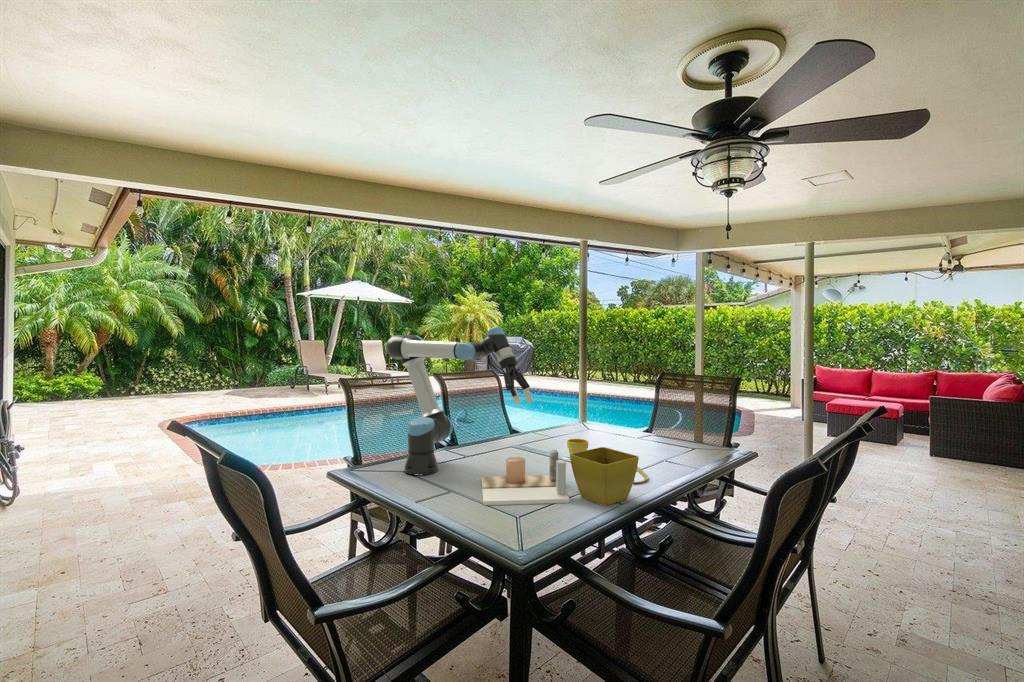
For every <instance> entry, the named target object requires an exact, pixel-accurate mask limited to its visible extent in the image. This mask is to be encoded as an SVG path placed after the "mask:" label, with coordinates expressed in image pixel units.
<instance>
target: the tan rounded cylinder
mask: <svg viewBox="0 0 1024 682" xmlns="http://www.w3.org/2000/svg"><path fill="white" fill-rule="evenodd" d="M505 476H506V482H507V483H510V484H521V483H524V482H525V476H526V458H525V457H522V456H521V457H520V456H510V457H507V458H506V459H505Z"/></svg>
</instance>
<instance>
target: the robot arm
mask: <svg viewBox="0 0 1024 682" xmlns="http://www.w3.org/2000/svg"><path fill="white" fill-rule="evenodd" d="M385 351H386V353H387V355H388V356H389V357H391V358H392V359H393V360H400V362H401V364H402V366H403V367H405V368H406V369H407V373H408V375H409V378H410V381H411V385H412V387H413V391H414V394H415V396H416V400H417V402H418V405H419V406H418V407H419V409H420V412H421V416H420V417H419V418H417V417H416V418H414V419H411V420H410V421H409V422H408V426H407V427H408V428H407V447H408V448H407V450H408V451H407V452H408V453H407V458H406V461H405V464H404V467H403V468H404V471H405V472H406V473H410V474H419V475H418V476H421V475H420V474H428V475H431V474H430V473H432V474H435V473H437V472H438V471H439V463H438V460H437V458H436V455H435V444H436V443H440V442H442V441H445V440H446V439H447V438H449V437H450V436H451V435H452V433H453V427H454V426H453V421H452V420H451V418H450V417H448V416H447V415H445V411H444V410H443V409H441V408H440V407H439V403H438V401H437V398H436V395H435V391H434V389H433V386H432V383H431V379H430V377H429V374H428V371H427V369H426V368H427V367H426V365H425V360H426V358H431V359H448V360H449V359H450V360H452V359H453V360H455V359H456V360H461V361H472V362H475V363H476V362H479V361H480V360H483V359H484V358H485V357H487V356H489V355H490V354H492V353H494V354H495V357H496V359H497V362H499V367H500V368H501V372H502V374H503V379H504V380H503V381H504V385H505V389H506V391H507V392H510V394H511V397H512V400H513V401H514V404H515V405H518V404H519V403H520V404H521V403H522V400H521V398H520V395H519V393H518V391H517V388H516V387H515V381H516V382H517V383H518V385H519V386H520V387H521V389H522V393H523V395H524V397H525V399H526V402H527V404H531V403H533V402H534V398H533V397H532V393H531V392H530V389H529V388H530V387H531V386H530V384H529V383H528V381H527V380H526V378H525V376H524V375H523V374H522V372H521V370H520V368H516V366H517V365H518V361H517V359H516V357H515V356H514V352H513V348H511V345H510V343H509V341H508V338H507V336H506V334H505V332H504V329H503V328H502V327H501V326H494V327H491V328H490V329H488V330H487V332H486V337H485V338H482V339H481V340H479V341H472V342H469V341H468V342H467V341H466V342H465V341H464V342H463V341H441V340H438V341H437V340H424V339H423V338H422V337H420V336H419V335H416V334H398V335H397V334H395V335H393V336H392V337H390V338H389V339H388V340H387V342H386V346H385ZM437 470H438V471H437ZM436 471H437V472H436ZM405 472H404V473H405ZM434 472H435V473H434ZM406 473H405V474H406Z"/></svg>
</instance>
